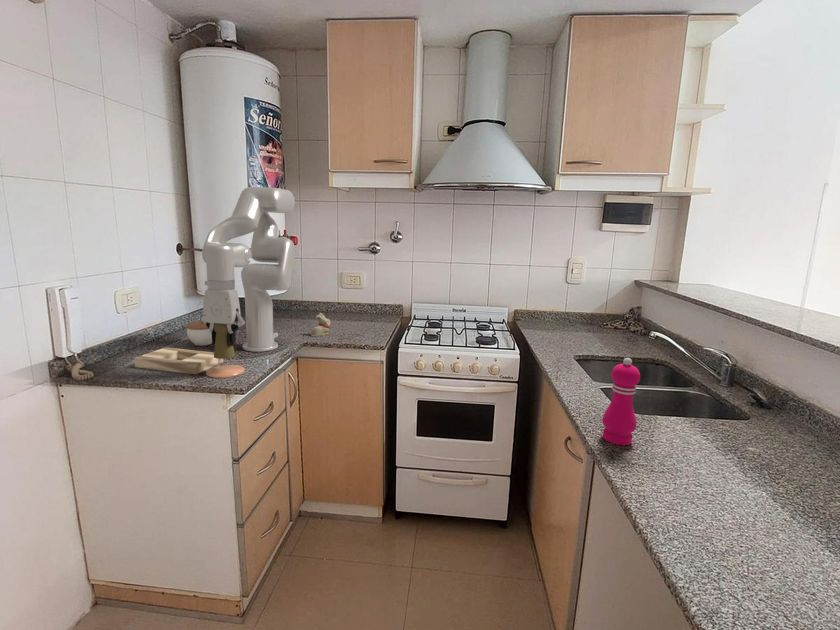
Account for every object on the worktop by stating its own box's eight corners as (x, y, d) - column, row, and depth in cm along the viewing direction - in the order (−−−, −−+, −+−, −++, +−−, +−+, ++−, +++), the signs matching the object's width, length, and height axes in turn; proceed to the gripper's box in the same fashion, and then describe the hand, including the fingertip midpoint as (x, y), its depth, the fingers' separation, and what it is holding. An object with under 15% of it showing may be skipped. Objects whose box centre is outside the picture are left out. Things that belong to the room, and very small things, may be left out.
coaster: (221, 365, 143) (221, 363, 143) (251, 368, 141) (251, 366, 141) (198, 375, 133) (198, 374, 133) (230, 379, 131) (230, 377, 131)
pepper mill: (593, 433, 105) (604, 353, 101) (619, 431, 107) (630, 352, 103) (613, 448, 98) (625, 363, 94) (640, 445, 100) (653, 362, 96)
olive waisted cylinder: (211, 359, 132) (210, 323, 130) (215, 353, 138) (213, 319, 136) (233, 358, 134) (232, 323, 131) (236, 352, 139) (234, 319, 137)
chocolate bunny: (327, 337, 183) (327, 314, 182) (309, 336, 184) (309, 313, 182) (331, 334, 189) (331, 311, 187) (313, 333, 189) (313, 310, 187)
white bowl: (223, 340, 172) (222, 317, 171) (210, 347, 162) (208, 323, 160) (196, 339, 173) (195, 316, 171) (181, 346, 162) (179, 321, 160)
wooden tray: (166, 355, 151) (165, 347, 150) (223, 362, 146) (222, 353, 146) (134, 367, 138) (134, 358, 138) (196, 374, 134) (195, 365, 133)
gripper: (187, 285, 130) (191, 344, 133) (239, 289, 126) (241, 349, 130) (204, 282, 137) (207, 339, 140) (253, 286, 134) (255, 343, 137)
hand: (224, 343), depth 135 cm, fingers closed on olive waisted cylinder, 4 cm apart
